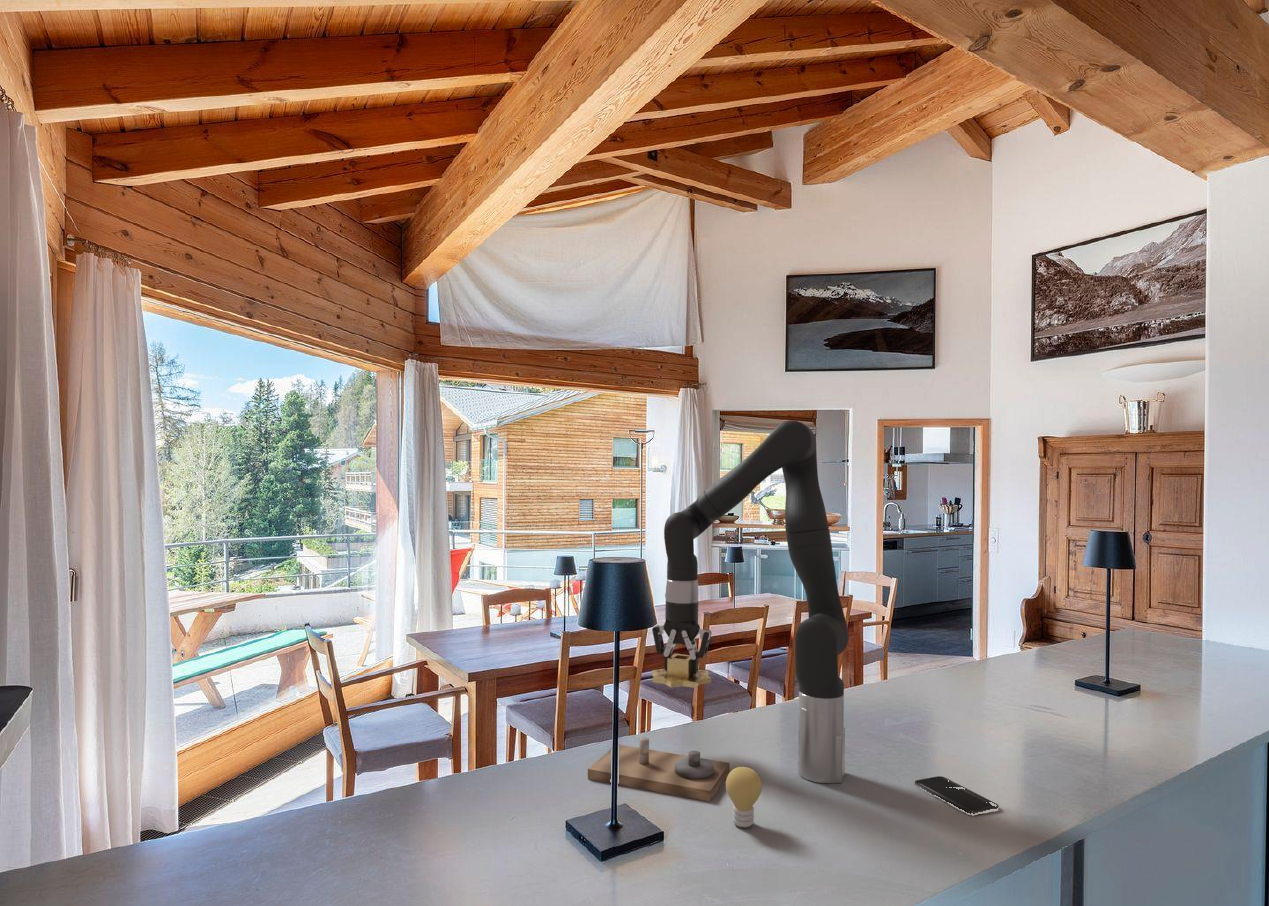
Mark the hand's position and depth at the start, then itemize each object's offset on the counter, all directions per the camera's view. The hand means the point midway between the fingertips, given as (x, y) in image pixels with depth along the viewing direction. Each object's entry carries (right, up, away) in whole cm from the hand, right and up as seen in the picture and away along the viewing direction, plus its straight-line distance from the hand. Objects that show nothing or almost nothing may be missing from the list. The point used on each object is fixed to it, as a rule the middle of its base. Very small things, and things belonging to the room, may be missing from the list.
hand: (681, 673), depth 166 cm
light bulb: (+9, -17, -35) cm, 40 cm away
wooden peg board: (-5, -17, -14) cm, 23 cm away
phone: (+53, -18, -22) cm, 60 cm away
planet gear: (0, -1, 0) cm, 1 cm away
